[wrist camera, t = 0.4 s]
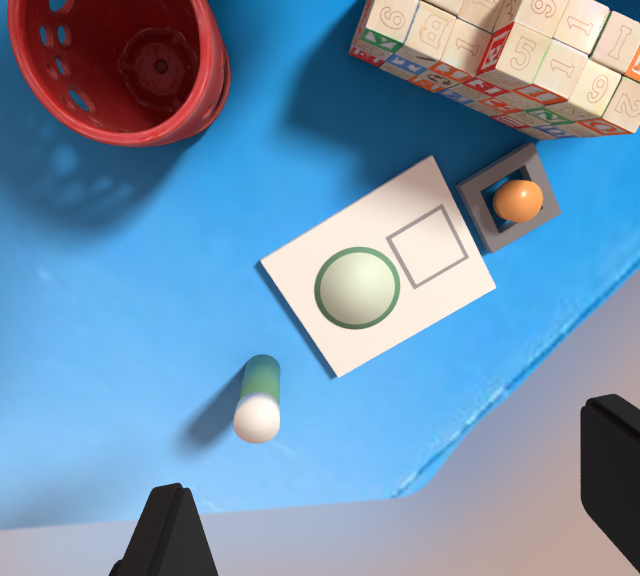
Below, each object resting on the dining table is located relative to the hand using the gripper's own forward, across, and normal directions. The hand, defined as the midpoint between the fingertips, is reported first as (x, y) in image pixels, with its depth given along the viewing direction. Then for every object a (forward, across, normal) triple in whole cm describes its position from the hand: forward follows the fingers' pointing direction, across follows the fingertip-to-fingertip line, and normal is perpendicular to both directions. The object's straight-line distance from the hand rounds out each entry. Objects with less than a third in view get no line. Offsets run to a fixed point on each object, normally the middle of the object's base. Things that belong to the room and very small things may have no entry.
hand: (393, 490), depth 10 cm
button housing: (+35, -21, -1) cm, 41 cm away
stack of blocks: (+35, -17, -14) cm, 41 cm away
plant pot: (+35, +10, -18) cm, 41 cm away
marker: (+36, +8, +14) cm, 39 cm away
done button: (+34, -21, -1) cm, 39 cm away
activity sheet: (+35, -7, +5) cm, 36 cm away
